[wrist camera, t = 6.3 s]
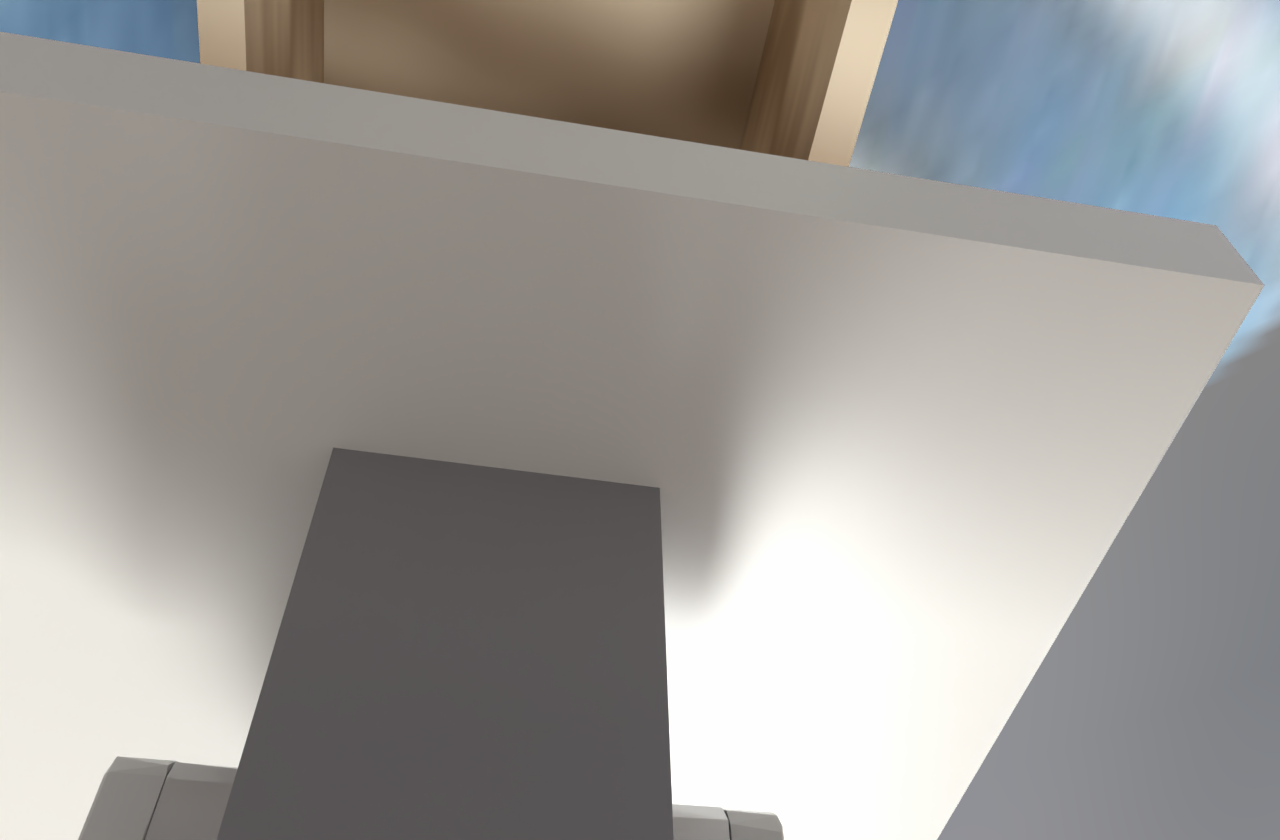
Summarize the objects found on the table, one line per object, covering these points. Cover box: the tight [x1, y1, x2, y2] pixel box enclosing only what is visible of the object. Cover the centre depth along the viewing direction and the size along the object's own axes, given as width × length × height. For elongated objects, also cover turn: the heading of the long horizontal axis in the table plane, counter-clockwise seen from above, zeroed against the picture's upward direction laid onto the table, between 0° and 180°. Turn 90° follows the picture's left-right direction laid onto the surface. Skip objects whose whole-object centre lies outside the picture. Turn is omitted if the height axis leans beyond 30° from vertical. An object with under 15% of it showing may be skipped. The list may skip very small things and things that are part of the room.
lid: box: [0, 32, 1264, 840], centre depth 12 cm, size 12×12×8 cm
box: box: [197, 0, 898, 167], centre depth 26 cm, size 12×12×8 cm
